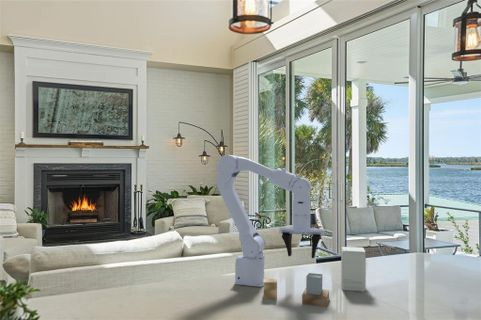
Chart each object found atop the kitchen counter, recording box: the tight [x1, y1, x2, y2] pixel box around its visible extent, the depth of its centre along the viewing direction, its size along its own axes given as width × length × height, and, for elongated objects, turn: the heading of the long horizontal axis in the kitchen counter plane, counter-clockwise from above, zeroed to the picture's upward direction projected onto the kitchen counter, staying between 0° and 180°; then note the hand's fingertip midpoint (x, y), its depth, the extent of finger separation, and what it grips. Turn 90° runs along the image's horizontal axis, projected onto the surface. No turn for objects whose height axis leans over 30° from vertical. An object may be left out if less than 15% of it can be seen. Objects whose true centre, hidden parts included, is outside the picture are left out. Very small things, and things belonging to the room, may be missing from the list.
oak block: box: [263, 277, 278, 300], centre depth 128 cm, size 4×4×5 cm
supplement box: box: [340, 246, 367, 292], centre depth 137 cm, size 7×7×13 cm
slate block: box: [305, 272, 323, 295], centre depth 124 cm, size 4×4×5 cm
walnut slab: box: [301, 287, 330, 307], centre depth 124 cm, size 7×7×3 cm
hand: (301, 256), depth 138 cm, fingers open, 7 cm apart
